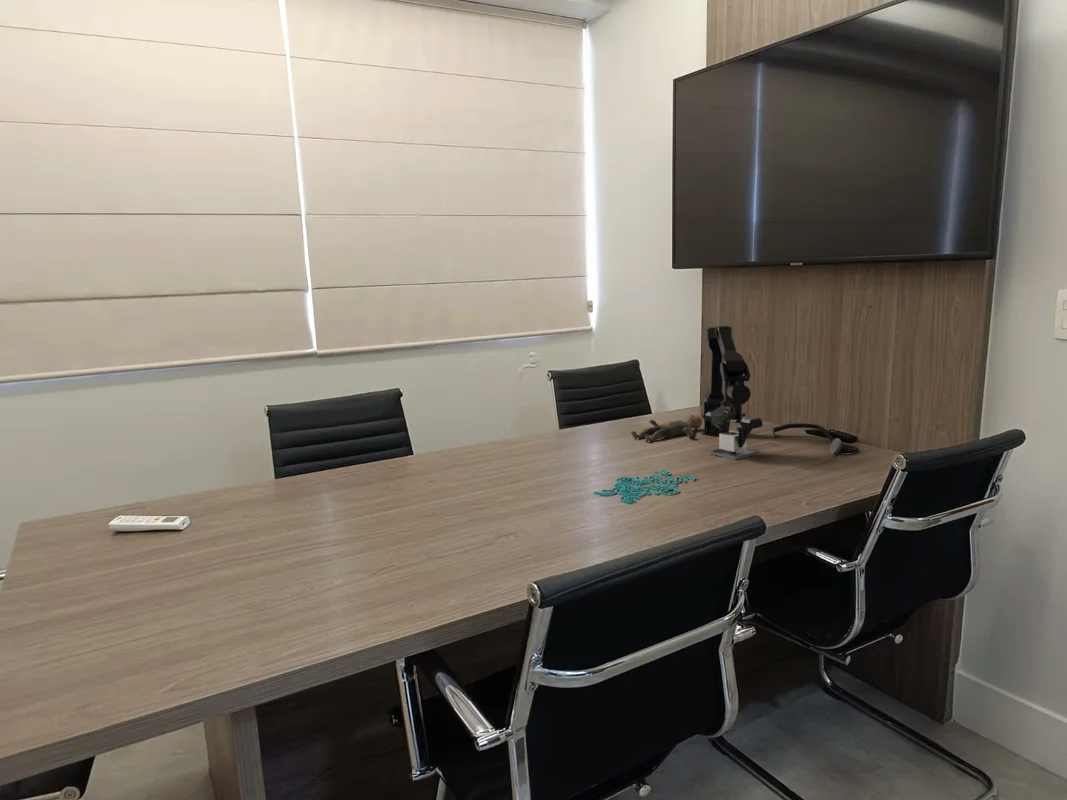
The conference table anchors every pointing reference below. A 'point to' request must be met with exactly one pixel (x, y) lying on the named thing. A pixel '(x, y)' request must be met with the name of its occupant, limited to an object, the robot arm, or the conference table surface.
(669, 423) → the figurine
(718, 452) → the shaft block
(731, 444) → the grey hollow square block
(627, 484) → the decorative art
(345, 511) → the conference table surface
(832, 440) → the hose
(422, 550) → the conference table surface
